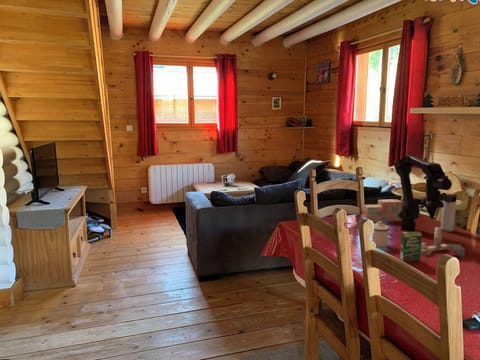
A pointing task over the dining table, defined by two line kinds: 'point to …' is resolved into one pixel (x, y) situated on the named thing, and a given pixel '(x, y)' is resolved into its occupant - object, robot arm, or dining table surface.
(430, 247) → the link
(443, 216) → the travel mug
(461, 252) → the keeper
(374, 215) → the stack of blocks
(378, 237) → the teacup with lid
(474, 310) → the dining table surface
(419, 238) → the coffee box
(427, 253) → the pintle
